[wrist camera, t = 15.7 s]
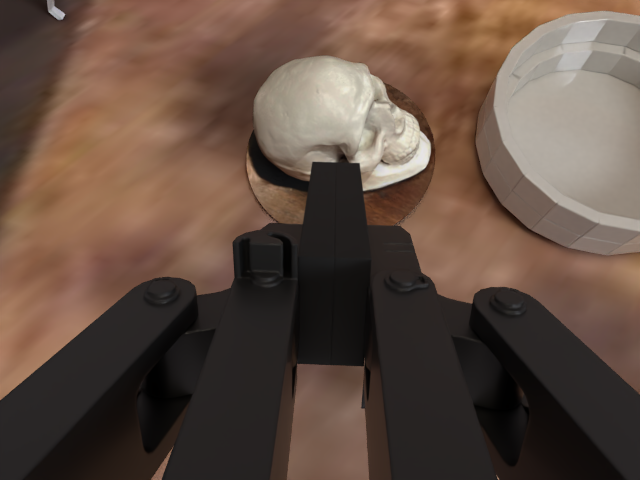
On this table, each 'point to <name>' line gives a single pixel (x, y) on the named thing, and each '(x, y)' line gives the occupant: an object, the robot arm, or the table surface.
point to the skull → (337, 138)
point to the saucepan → (569, 132)
